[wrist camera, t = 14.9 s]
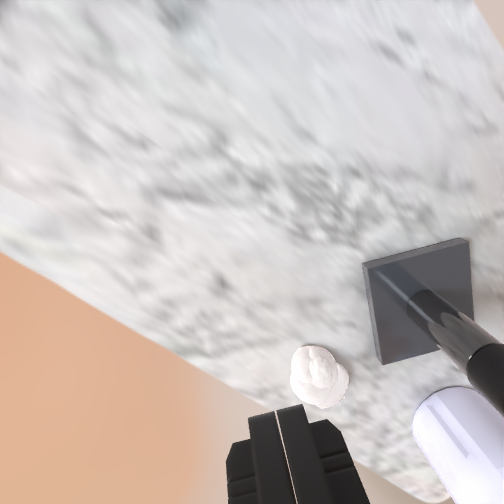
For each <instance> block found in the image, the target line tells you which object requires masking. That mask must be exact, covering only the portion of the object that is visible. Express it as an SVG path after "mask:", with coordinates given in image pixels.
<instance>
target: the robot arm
mask: <svg viewBox="0 0 504 504" xmlns="http://www.w3.org/2000/svg"><path fill="white" fill-rule="evenodd" d="M276 411H277V415H278V420H279V424H280V428H281V433H282V437H283V442H284V446H285V450H286V455H287V459H288V463H289V468H290V472H291V476H292V481H293V485H294V489H295V494H296V498H297V502H298V504H370V502H369V499H368V497H367V495H366V492H365V490H364V487H363V485H362V482H361V480H360V478H359V475H358V473H357V470H356V468H355V466H354V463H353V460H352V458H351V456H350V453H349V452H348V448H347V446H346V443H345V441H344V438H343V436H342V434H341V431H339V430H338V429H337V428H336V427H335V426H334V425H333V424H332V423H331V422H330V421H329V420H327V419H325V420H321V421H317V422H314V423H310V424H309V423H308V420H307V416H306V413H305V410H304V407H303V405H302V404H300V405H296V406H292V407H288V408H284V409H280V410H276ZM248 423H249V430H250V438H251V439H248V440H244V441H240V442H236V443H233V444H232V447H231V450H230V452H229V455H228V457H227V460H226V468H227V469H226V470H227V482H228V483H227V488H228V498H229V499H228V504H297V503H296V499H295V494H294V490H293V486H292V481H291V477H290V473H289V468H288V464H287V460H286V456H285V452H284V448H283V444H282V440H281V436H280V432H279V428H278V424H277V420H276V416H275V412H274V411H272V412H269V413H265V414H261V415H257V416H253V417H249V418H248Z"/></svg>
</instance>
